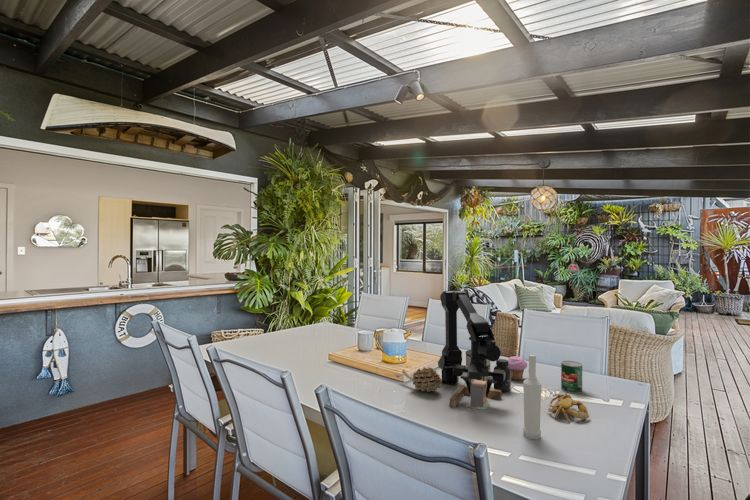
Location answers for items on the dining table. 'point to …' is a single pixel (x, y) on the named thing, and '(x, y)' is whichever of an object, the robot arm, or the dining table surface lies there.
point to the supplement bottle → (505, 385)
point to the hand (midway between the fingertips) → (478, 395)
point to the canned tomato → (571, 377)
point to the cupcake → (517, 367)
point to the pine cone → (425, 379)
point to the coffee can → (468, 360)
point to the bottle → (532, 402)
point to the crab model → (566, 404)
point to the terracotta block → (478, 393)
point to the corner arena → (464, 390)
